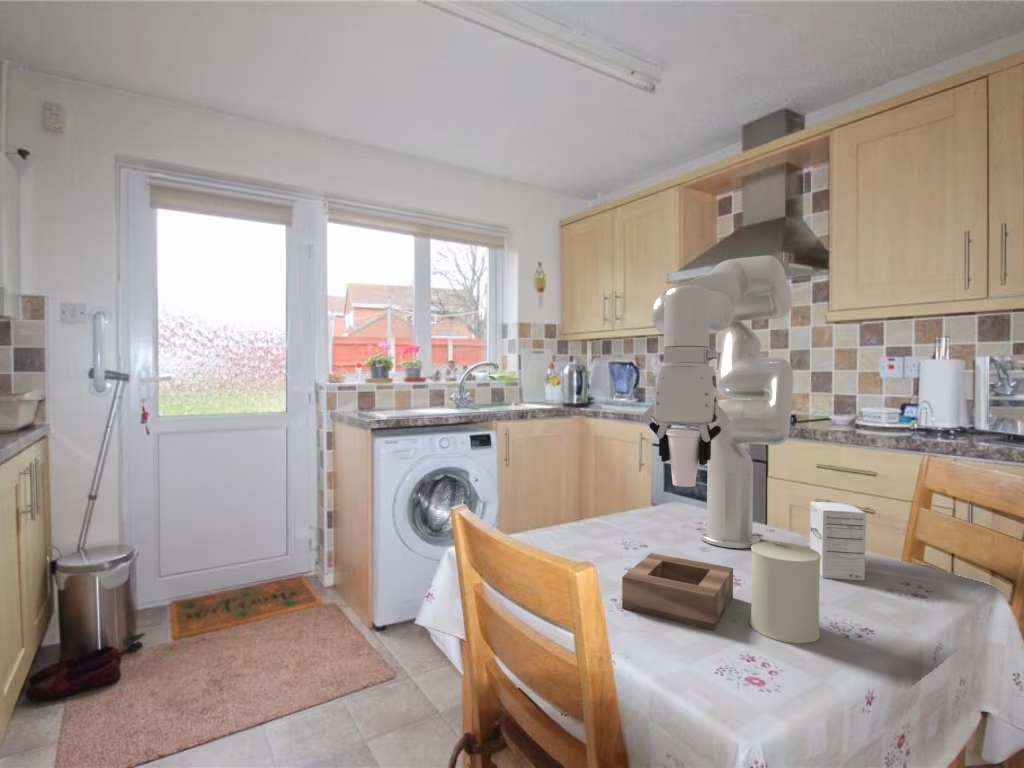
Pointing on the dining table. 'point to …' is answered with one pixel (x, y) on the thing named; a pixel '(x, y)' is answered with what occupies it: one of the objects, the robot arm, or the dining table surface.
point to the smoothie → (684, 454)
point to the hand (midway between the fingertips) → (684, 461)
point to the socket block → (678, 590)
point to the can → (785, 592)
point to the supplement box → (838, 539)
